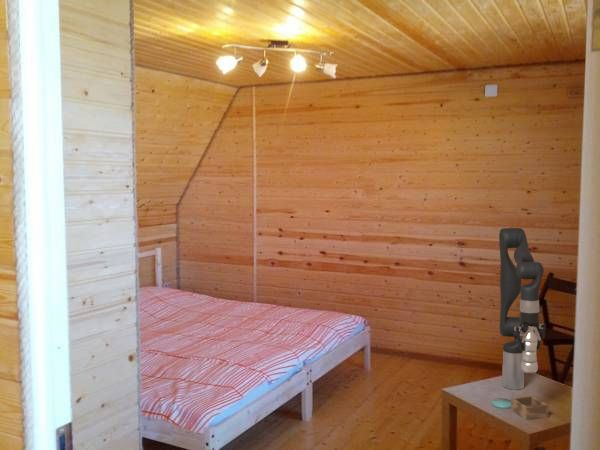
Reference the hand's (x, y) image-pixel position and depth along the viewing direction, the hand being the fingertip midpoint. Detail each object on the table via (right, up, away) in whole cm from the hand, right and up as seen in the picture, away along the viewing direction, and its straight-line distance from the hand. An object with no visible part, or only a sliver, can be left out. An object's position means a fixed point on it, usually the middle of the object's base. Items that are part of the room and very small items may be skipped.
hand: (529, 349), depth 249 cm
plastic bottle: (0, -10, +1) cm, 10 cm away
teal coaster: (-7, -27, +13) cm, 30 cm away
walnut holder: (+1, -27, +2) cm, 27 cm away
